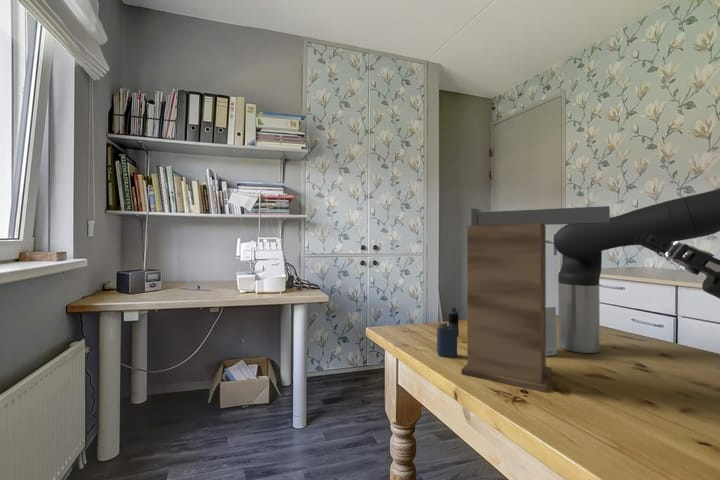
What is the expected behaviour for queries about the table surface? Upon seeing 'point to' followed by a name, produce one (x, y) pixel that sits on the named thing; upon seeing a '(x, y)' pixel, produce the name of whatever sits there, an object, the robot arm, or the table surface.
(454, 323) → the vaping device
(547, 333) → the skincare box
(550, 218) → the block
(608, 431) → the table surface
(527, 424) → the table surface
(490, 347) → the stand
